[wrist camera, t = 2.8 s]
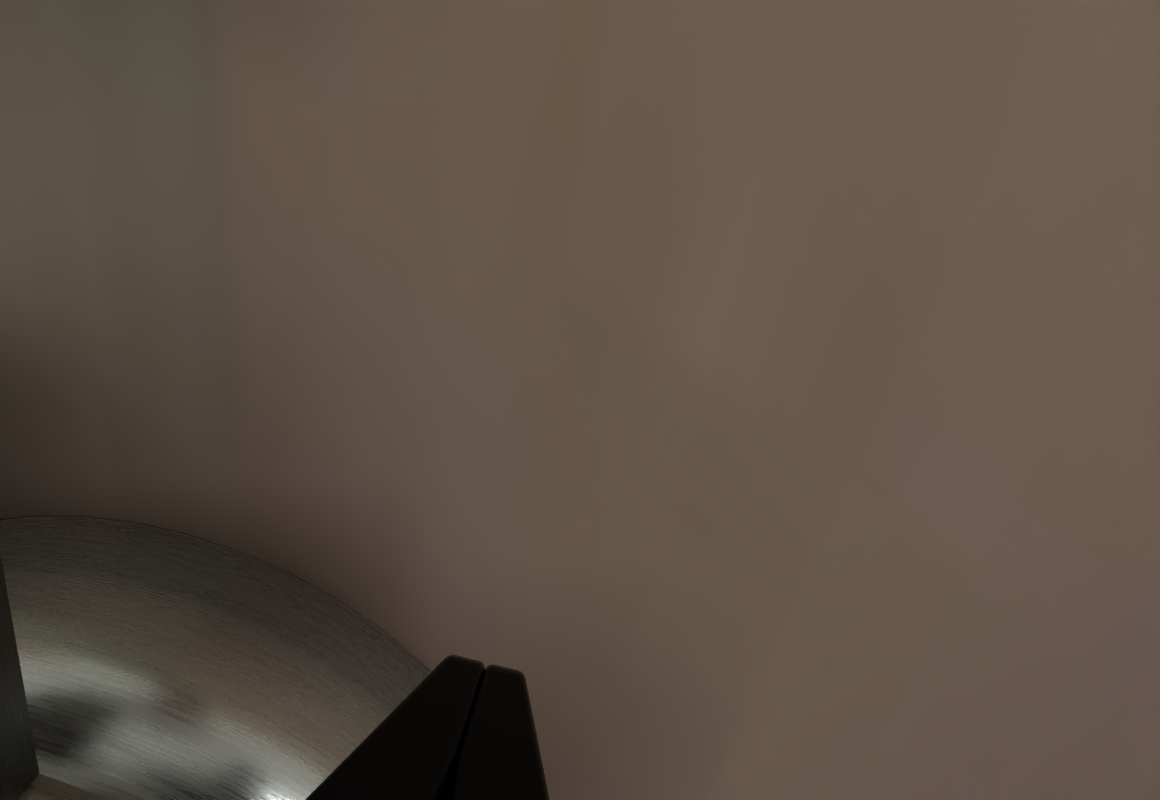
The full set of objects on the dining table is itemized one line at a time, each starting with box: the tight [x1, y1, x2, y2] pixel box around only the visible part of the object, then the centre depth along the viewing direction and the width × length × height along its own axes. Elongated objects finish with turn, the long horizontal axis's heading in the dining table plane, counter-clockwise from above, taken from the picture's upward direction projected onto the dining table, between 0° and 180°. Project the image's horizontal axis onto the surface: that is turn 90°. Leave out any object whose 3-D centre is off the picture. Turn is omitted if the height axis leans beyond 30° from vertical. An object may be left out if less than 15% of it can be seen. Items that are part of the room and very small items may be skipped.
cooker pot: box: [0, 516, 431, 800], centre depth 16 cm, size 22×16×5 cm
